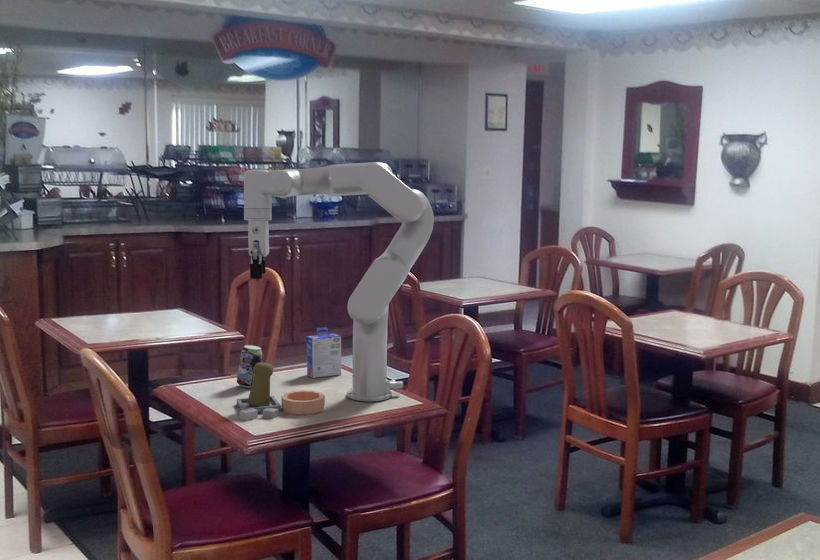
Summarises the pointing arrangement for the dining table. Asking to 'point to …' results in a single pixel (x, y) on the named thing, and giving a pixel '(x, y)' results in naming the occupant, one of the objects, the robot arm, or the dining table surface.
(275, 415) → the grey block
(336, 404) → the dining table surface
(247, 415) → the light grey block
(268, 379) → the olive pestle
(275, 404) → the tray
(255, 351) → the beverage can
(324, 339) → the ink cartridge box
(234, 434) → the dining table surface
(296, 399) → the bowl
